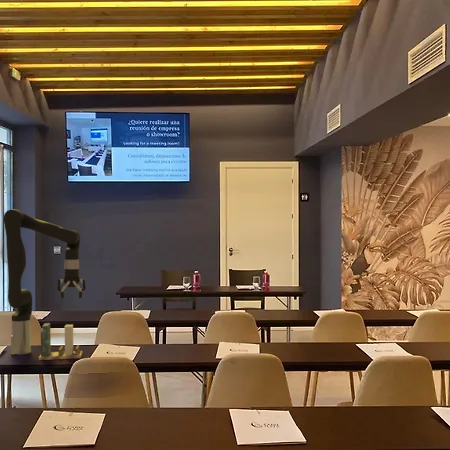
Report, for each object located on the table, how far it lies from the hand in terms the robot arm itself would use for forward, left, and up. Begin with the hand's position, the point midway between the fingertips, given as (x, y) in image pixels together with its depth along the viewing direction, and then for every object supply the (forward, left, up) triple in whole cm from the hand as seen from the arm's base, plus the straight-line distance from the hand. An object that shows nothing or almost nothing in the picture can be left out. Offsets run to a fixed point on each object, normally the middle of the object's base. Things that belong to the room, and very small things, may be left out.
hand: (71, 298), depth 296 cm
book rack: (-4, -14, -28) cm, 31 cm away
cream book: (0, -14, -26) cm, 29 cm away
